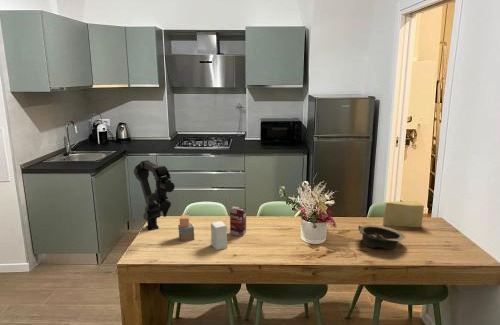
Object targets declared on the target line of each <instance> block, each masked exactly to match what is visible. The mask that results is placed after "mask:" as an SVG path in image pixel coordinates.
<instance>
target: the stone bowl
mask: <svg viewBox="0 0 500 325" xmlns="http://www.w3.org/2000/svg"><path fill="white" fill-rule="evenodd" d="M357 229H358V231H359V234H361V235H362V238H361V239H362V241H363V242H362V243H363V244H364V245H365V246H366V247H370V248H371V249H377V248H383V249H385V250H388V251H389V250H391V251H392V250H393V249H395V247H396V246H397V245H398V244H399V242H402V241H404V240H405V239H406V235H405V234H404V233H403V232H401V231H399V230H396V229H394V228H390V227H387V226H384V225H383V226H382V225H376V224H367V225H362V226H361V225H358V227H357Z"/></svg>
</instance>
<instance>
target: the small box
mask: <svg viewBox="0 0 500 325" xmlns="http://www.w3.org/2000/svg"><path fill="white" fill-rule="evenodd" d="M210 235H211V236H210V237H211V238H210V239H211V244H210V245H211V246H213V248H214V249H215V250H216V251H220V250H223V249H224V250H225V249H228V226H227V225H226V224H225V223H224V222H223V221H222V220H220V221H219V220H217V221H213V222H211V223H210Z"/></svg>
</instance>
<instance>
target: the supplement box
mask: <svg viewBox="0 0 500 325" xmlns="http://www.w3.org/2000/svg"><path fill="white" fill-rule="evenodd" d="M229 225H230V226H229V227H230V228H229V229H230V230H229V232H230V233H229V234H230V235H236V236H240V237H244V236H245V235H246V234H247V207H241V206H240V207H239V206H231V208H229Z"/></svg>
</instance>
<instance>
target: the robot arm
mask: <svg viewBox="0 0 500 325" xmlns="http://www.w3.org/2000/svg"><path fill="white" fill-rule="evenodd" d="M150 172H151V173H152V175H153V177H154V181H155V190H154V192H152V190H151V186H150V183H149V182H150V181H149V176H150ZM133 174H134V176H135V179H136V180H138V181H139V182H140V186H141V190H142V193H143V197H144V200H145V204H146V205H145V206H144V210H145V212H144V213H143V216H142V217H143V219H144V220H145V221H146V222H147V225H146V226H145V227H146V229H147V231H150V230H156V229H157V230H158V229H159V226H158V219H160V217H161V212H162V214H163V215H162V216H163V217H164V218H165V217H167V214H168V211H169V210H170V208H171V207H172V203H171V201H170V200H169V199H168V198H169V197H168V194H167V193H172V192H173V191H174V190H175V186H176V185H175V183H174V182H172V180H171V178H172V177H171V174H170V172H169V169H168V168H167V166H166V165H158V164H155V163H153V162H152V161H150V160H142V161H140V162H139V164H137V165H136V166H135V167H134V169H133Z"/></svg>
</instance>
